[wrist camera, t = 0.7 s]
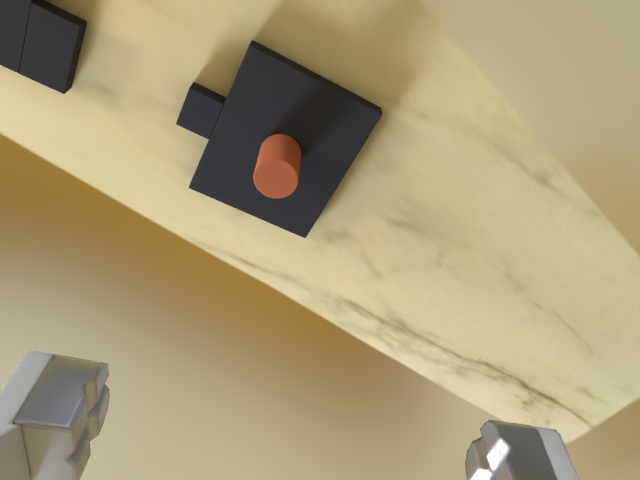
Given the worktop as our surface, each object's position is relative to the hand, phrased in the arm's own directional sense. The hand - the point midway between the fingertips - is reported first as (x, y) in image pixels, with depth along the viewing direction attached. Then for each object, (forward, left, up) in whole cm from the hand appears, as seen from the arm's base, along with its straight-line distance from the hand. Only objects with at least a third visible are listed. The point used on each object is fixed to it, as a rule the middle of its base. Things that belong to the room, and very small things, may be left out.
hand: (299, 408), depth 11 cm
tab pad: (+8, -1, -28) cm, 30 cm away
